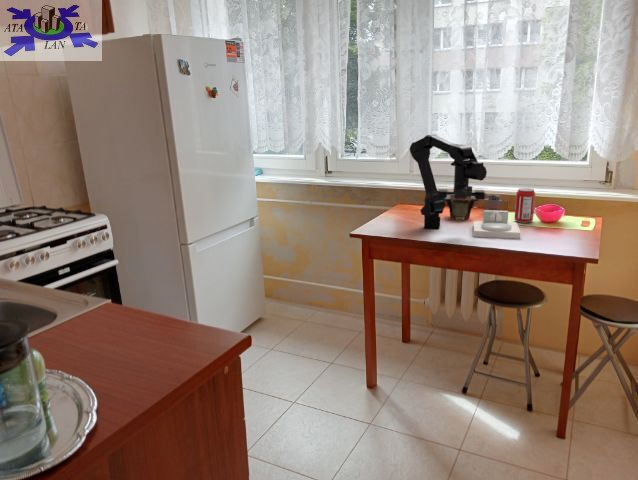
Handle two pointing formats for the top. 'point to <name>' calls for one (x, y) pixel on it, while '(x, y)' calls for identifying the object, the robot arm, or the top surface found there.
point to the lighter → (493, 203)
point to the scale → (496, 225)
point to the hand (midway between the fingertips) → (459, 214)
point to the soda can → (524, 205)
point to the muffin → (464, 216)
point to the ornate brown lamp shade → (460, 208)
